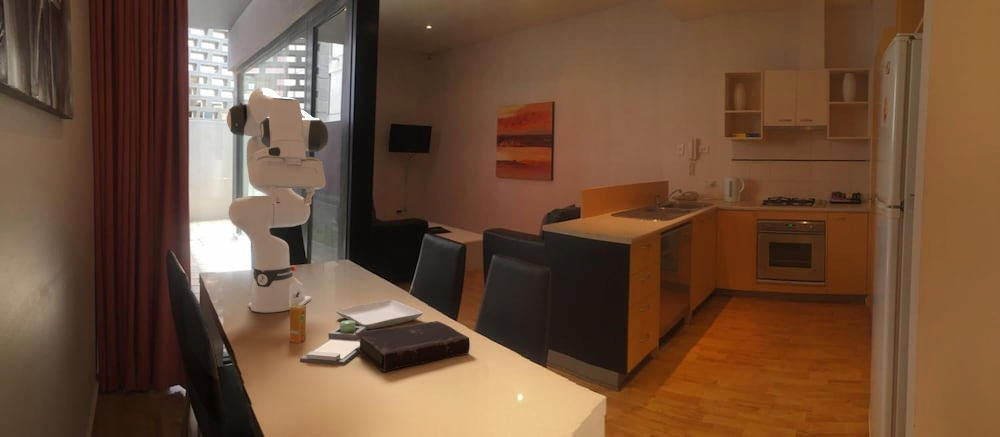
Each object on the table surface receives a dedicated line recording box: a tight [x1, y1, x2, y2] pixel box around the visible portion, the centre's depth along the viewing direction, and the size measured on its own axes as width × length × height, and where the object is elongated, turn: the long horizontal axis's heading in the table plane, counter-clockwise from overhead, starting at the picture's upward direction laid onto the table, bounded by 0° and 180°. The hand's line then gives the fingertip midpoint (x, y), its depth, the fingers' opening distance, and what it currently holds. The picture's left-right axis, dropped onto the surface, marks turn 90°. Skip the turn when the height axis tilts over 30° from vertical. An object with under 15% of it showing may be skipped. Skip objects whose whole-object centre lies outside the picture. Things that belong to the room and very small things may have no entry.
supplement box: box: [289, 305, 307, 344], centre depth 155 cm, size 3×3×10 cm
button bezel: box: [327, 325, 367, 341], centre depth 159 cm, size 8×8×2 cm
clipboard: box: [299, 338, 360, 366], centre depth 146 cm, size 16×12×2 cm
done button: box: [339, 319, 357, 333], centre depth 159 cm, size 4×4×3 cm
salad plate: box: [335, 299, 424, 330], centre depth 177 cm, size 21×21×3 cm
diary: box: [355, 320, 471, 372], centre depth 146 cm, size 19×25×5 cm
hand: (292, 204), depth 149 cm, fingers open, 8 cm apart
